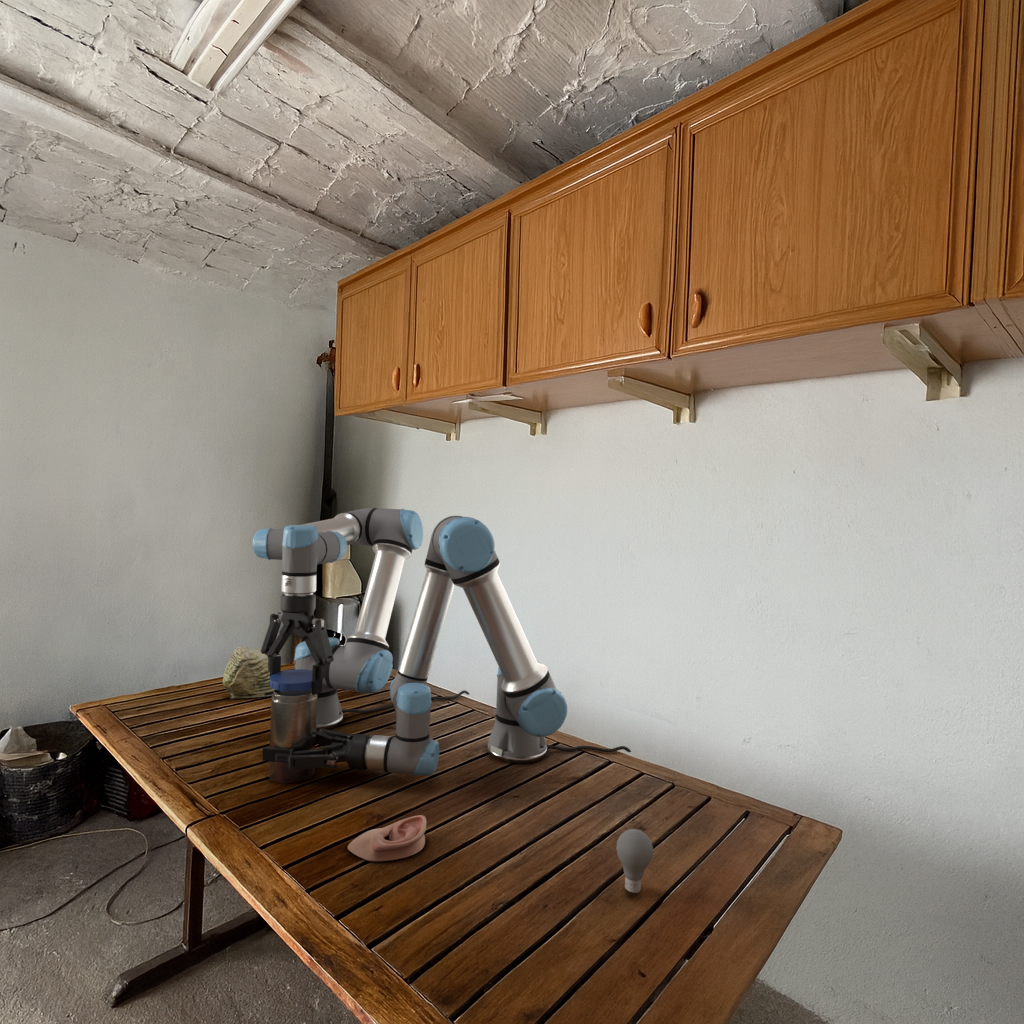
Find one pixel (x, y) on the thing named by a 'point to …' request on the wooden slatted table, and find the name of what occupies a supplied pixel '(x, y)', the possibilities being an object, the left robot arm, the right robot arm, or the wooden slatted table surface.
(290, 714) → the jar
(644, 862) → the light bulb
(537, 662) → the right robot arm
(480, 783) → the wooden slatted table surface
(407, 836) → the anatomical model
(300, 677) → the lid
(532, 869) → the wooden slatted table surface
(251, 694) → the fossil
